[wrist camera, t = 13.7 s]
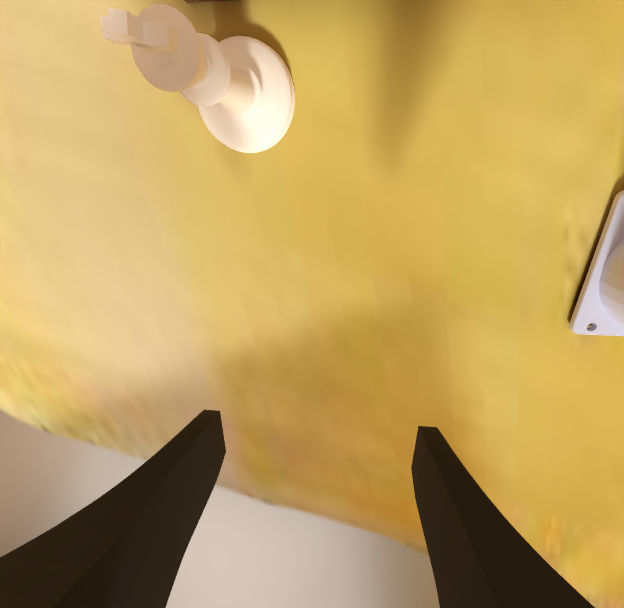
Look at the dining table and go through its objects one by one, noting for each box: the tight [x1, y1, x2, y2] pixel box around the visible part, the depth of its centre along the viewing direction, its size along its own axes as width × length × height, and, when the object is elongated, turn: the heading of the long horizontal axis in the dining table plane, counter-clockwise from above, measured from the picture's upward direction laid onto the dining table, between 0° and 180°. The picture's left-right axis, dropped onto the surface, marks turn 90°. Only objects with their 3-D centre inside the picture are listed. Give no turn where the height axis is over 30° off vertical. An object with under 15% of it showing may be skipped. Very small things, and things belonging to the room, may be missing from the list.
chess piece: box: [100, 4, 295, 153], centre depth 12 cm, size 5×5×10 cm
